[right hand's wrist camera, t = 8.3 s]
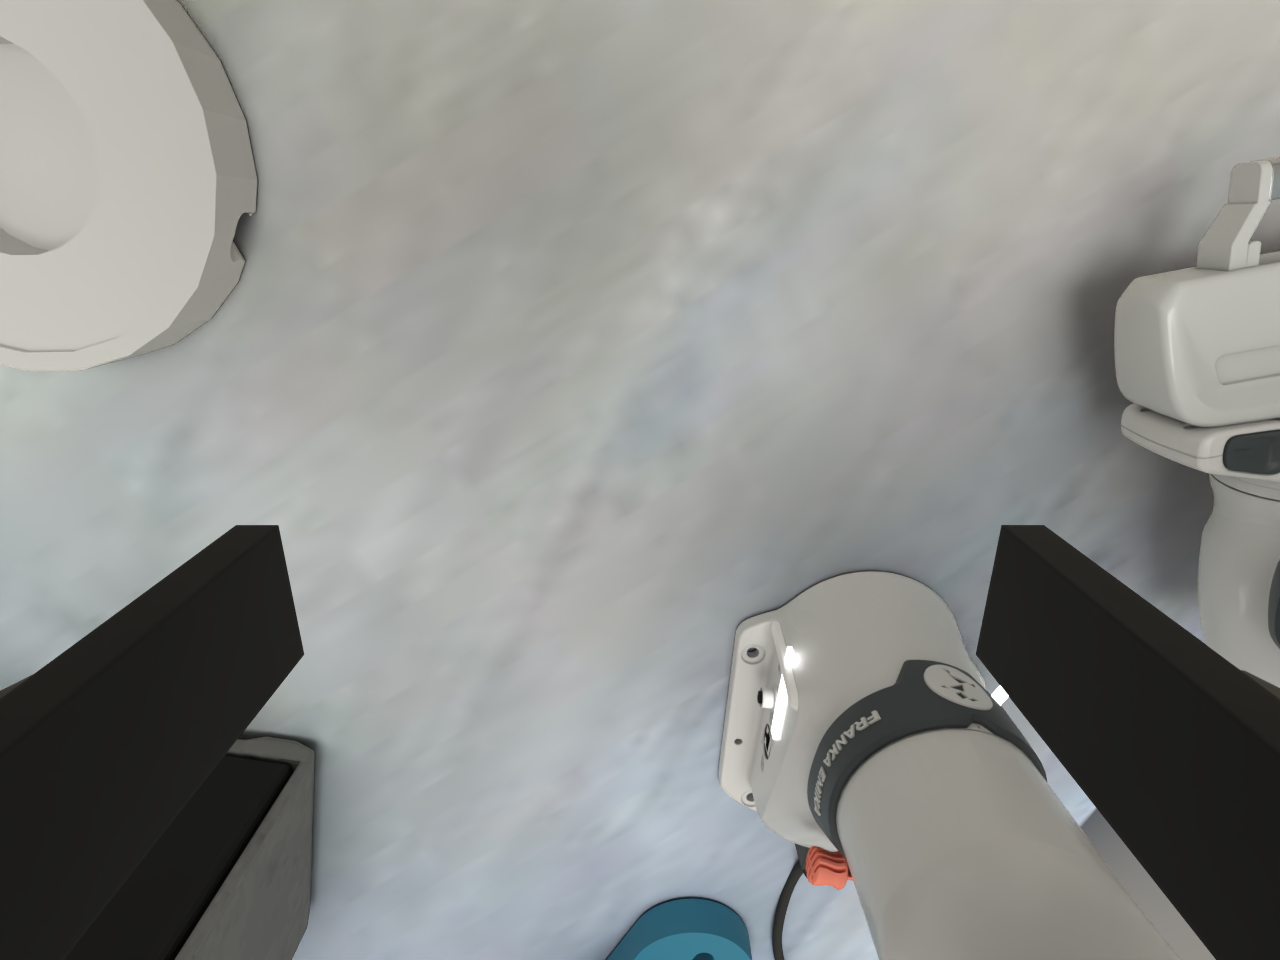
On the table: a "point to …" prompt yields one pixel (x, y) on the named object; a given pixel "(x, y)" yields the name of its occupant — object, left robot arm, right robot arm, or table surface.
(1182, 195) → the table surface
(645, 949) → the camera mount
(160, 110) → the ashtray
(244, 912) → the cooler box
